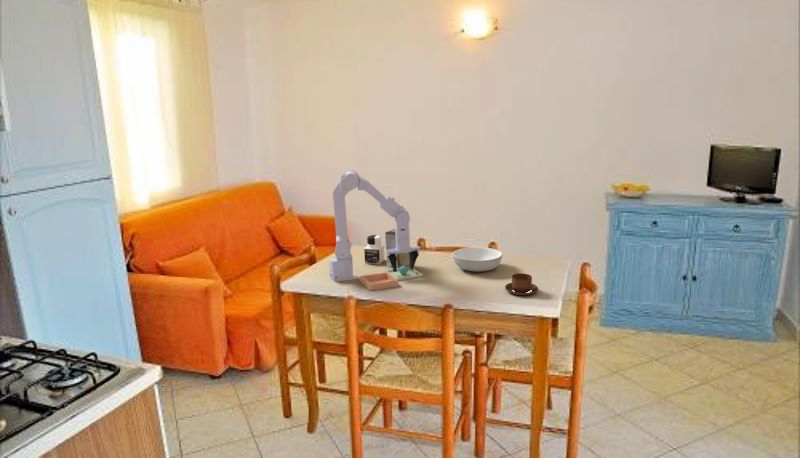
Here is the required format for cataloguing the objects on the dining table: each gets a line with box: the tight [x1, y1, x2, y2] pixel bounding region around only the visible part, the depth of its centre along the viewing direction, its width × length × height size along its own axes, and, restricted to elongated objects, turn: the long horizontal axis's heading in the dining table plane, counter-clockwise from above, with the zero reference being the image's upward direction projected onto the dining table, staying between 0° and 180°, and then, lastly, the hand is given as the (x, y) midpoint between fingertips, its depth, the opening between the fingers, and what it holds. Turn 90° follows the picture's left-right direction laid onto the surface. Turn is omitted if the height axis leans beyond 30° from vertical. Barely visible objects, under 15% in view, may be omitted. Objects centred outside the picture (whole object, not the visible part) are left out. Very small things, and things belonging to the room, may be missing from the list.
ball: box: [399, 265, 408, 275], centre depth 227 cm, size 4×4×4 cm
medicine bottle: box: [364, 234, 386, 265], centre depth 246 cm, size 7×7×12 cm
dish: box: [359, 271, 399, 291], centre depth 217 cm, size 12×12×3 cm
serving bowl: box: [452, 246, 503, 273], centre depth 234 cm, size 21×21×7 cm
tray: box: [384, 266, 424, 282], centre depth 227 cm, size 12×12×1 cm
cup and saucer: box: [504, 273, 539, 296], centre depth 205 cm, size 12×12×6 cm
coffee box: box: [385, 228, 410, 269], centre depth 238 cm, size 9×6×16 cm
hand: (403, 270), depth 227 cm, fingers open, 7 cm apart
